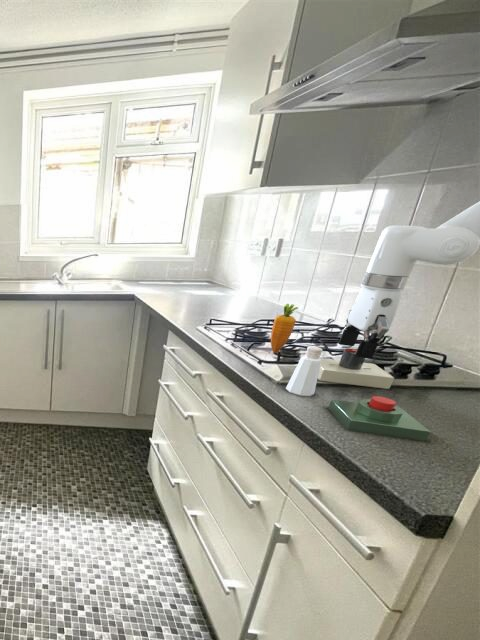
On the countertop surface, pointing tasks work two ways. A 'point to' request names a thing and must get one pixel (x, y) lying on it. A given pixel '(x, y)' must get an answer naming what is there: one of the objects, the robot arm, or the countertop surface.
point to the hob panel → (354, 374)
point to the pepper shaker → (306, 373)
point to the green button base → (377, 420)
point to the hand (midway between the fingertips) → (354, 350)
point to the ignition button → (382, 403)
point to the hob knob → (351, 360)
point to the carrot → (282, 328)
